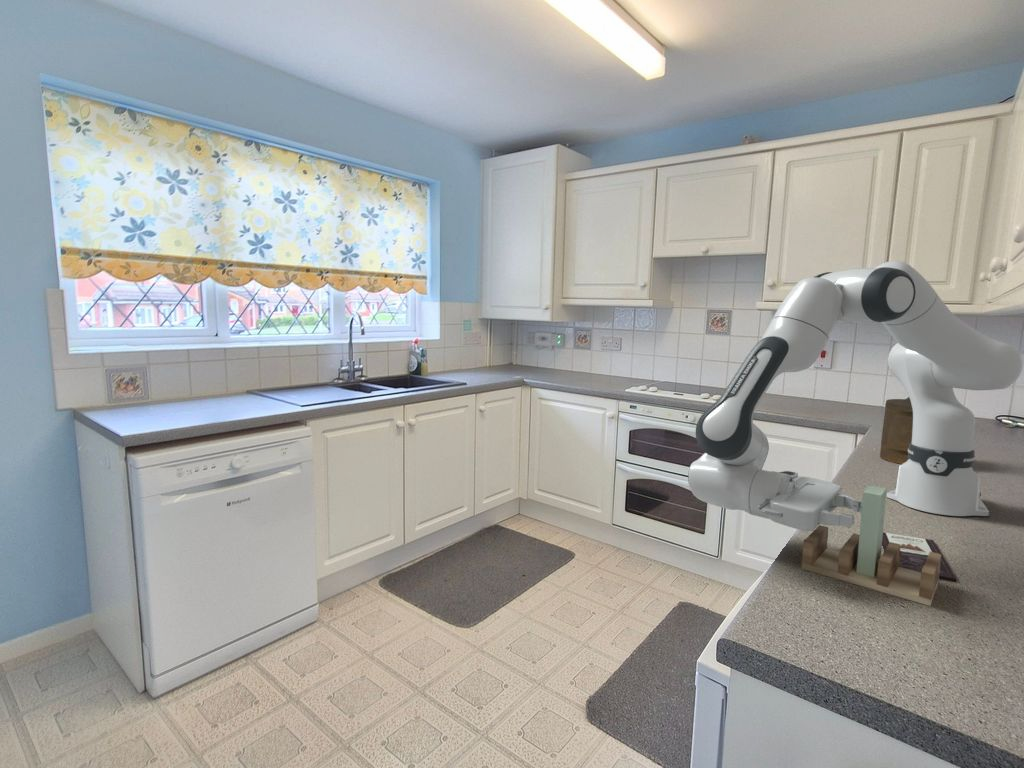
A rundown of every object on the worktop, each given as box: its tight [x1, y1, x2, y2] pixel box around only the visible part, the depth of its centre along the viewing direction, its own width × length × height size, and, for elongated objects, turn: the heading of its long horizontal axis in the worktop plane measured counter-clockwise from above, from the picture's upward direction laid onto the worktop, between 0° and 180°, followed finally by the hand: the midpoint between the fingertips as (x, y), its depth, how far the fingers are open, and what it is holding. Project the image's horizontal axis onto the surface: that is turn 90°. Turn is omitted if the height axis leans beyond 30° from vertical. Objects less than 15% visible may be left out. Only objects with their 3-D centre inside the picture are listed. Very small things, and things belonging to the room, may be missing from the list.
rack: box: [801, 524, 942, 607], centre depth 92 cm, size 10×18×5 cm, turn 46°
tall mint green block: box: [857, 485, 887, 577], centre depth 91 cm, size 5×2×14 cm, turn 137°
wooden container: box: [879, 396, 913, 465], centre depth 165 cm, size 15×15×22 cm
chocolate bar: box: [882, 531, 957, 583], centre depth 100 cm, size 9×1×18 cm
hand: (859, 514), depth 92 cm, fingers open, 8 cm apart
